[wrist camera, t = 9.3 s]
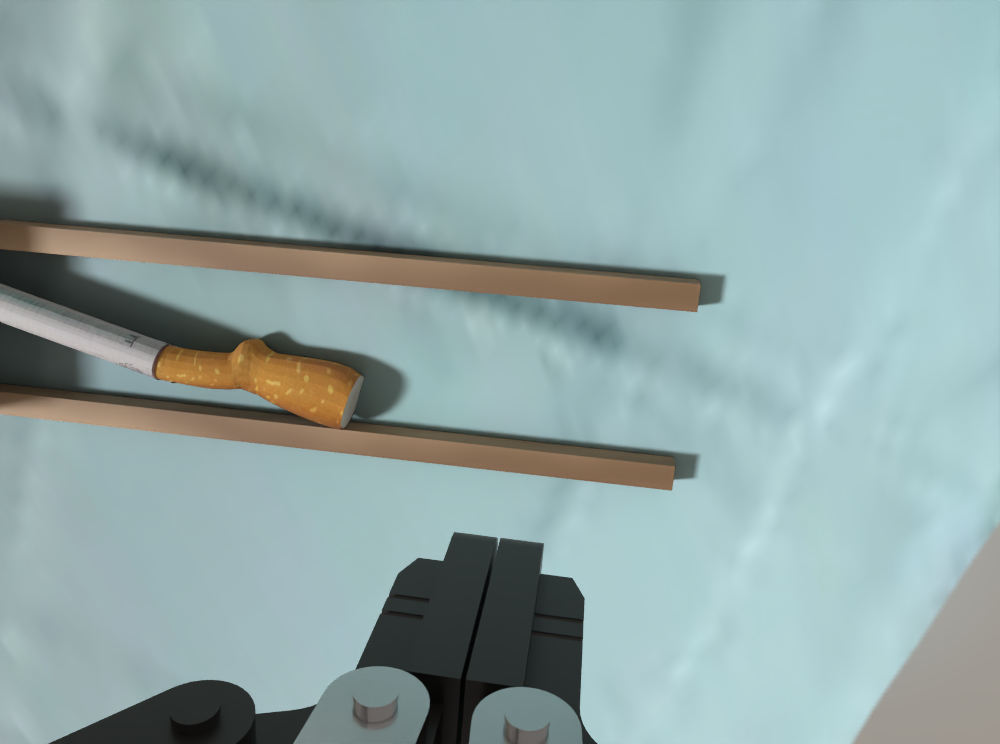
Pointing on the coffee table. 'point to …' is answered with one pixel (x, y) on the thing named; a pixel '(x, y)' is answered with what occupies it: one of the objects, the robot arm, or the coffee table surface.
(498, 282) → the holder
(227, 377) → the chisel
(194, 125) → the coffee table surface
